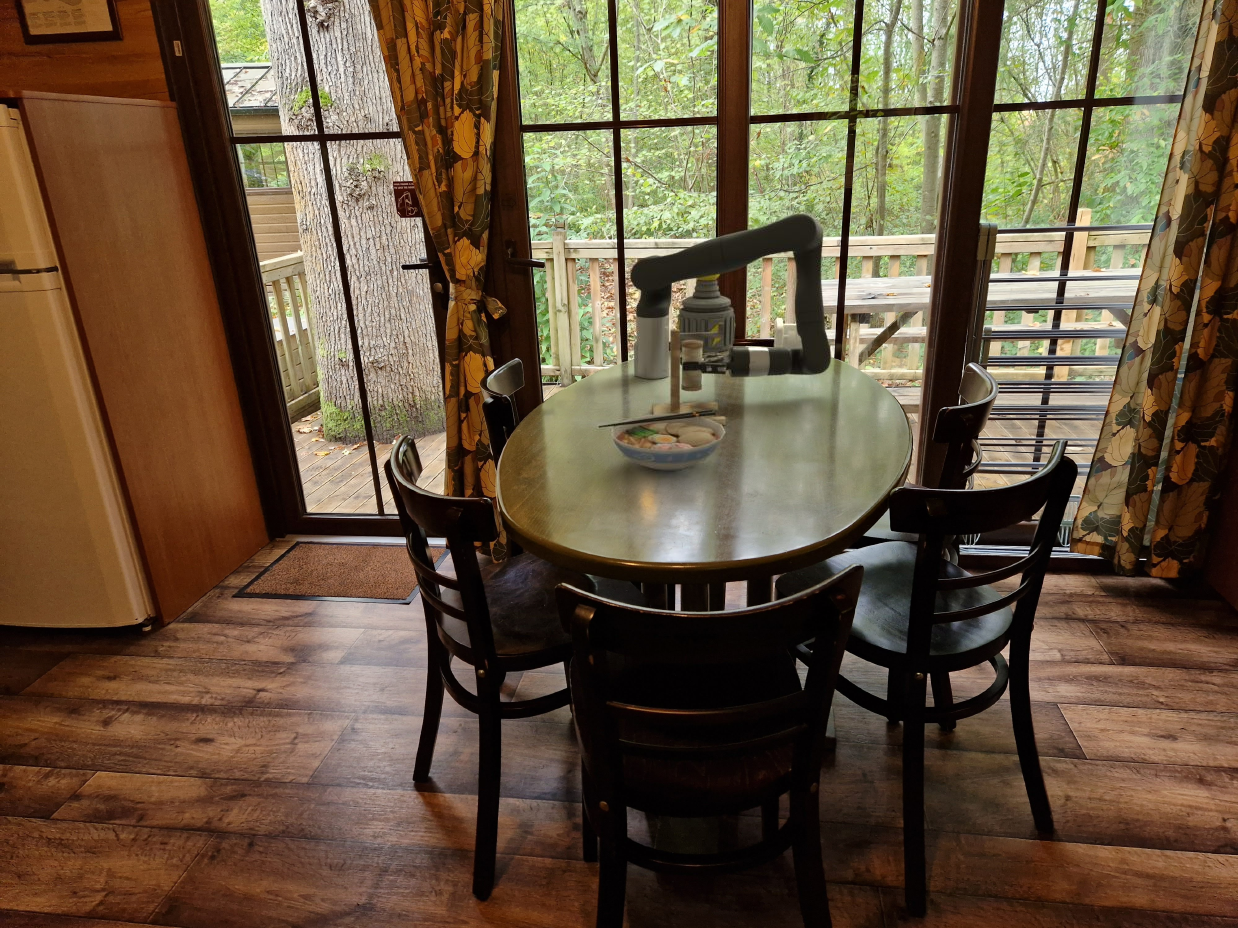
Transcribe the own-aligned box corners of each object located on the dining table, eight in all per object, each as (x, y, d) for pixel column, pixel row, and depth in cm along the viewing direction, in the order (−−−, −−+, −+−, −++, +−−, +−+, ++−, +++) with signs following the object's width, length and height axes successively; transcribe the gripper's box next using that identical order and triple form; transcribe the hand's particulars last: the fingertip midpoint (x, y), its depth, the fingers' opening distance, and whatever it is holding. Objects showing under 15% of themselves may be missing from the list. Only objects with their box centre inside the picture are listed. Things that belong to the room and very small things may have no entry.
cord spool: (677, 389, 199) (678, 343, 194) (686, 384, 203) (686, 339, 199) (697, 392, 196) (698, 345, 192) (704, 387, 201) (706, 340, 196)
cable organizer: (809, 364, 233) (812, 325, 229) (773, 364, 235) (775, 325, 231) (806, 353, 247) (809, 316, 243) (772, 352, 249) (774, 316, 245)
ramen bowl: (623, 494, 145) (622, 452, 142) (593, 454, 165) (592, 416, 162) (748, 477, 151) (750, 437, 148) (705, 440, 171) (705, 404, 168)
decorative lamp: (721, 339, 269) (723, 249, 259) (743, 351, 252) (746, 255, 242) (669, 344, 265) (669, 252, 254) (688, 355, 248) (688, 258, 237)
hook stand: (716, 407, 194) (718, 318, 186) (725, 425, 181) (728, 329, 173) (652, 410, 194) (651, 320, 186) (656, 427, 181) (655, 331, 173)
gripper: (744, 341, 203) (678, 342, 202) (755, 354, 190) (684, 355, 189) (742, 369, 206) (678, 371, 205) (753, 384, 192) (684, 385, 192)
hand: (681, 363), depth 197 cm, fingers closed on cord spool, 5 cm apart
